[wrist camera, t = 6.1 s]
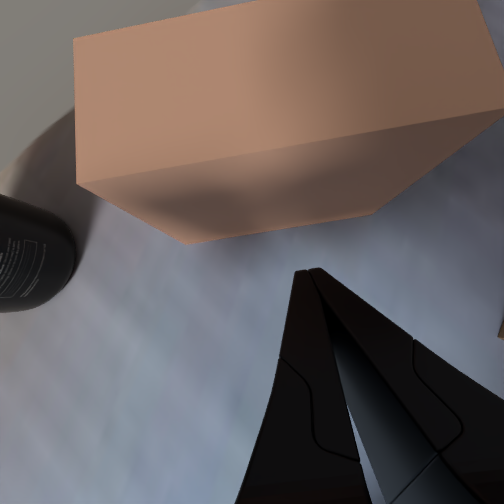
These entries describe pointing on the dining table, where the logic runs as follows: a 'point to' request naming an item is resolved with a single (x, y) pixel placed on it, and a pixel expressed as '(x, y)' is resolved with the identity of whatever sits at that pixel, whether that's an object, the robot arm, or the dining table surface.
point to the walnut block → (501, 332)
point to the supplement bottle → (32, 255)
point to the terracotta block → (279, 110)
